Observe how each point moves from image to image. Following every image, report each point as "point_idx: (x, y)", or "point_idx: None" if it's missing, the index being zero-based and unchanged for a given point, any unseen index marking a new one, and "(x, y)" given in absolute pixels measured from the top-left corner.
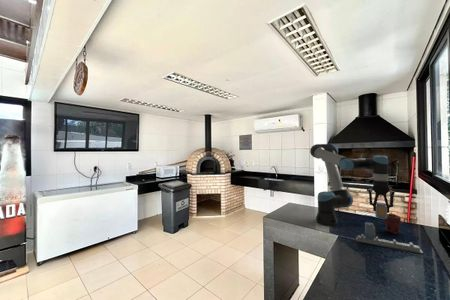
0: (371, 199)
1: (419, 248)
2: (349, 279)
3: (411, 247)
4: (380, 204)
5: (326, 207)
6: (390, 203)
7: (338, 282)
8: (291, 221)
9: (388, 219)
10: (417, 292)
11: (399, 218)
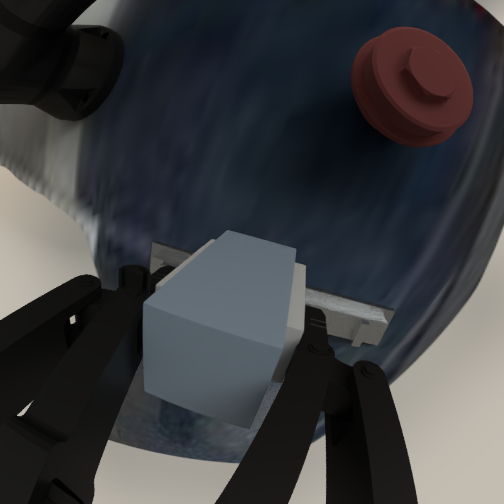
0: (46, 378)
1: (375, 343)
2: (134, 429)
3: (350, 336)
4: (183, 403)
5: (7, 102)
6: (358, 409)
7: (121, 430)
8: (5, 140)
9: (381, 105)
10: (231, 459)
11: (457, 127)
